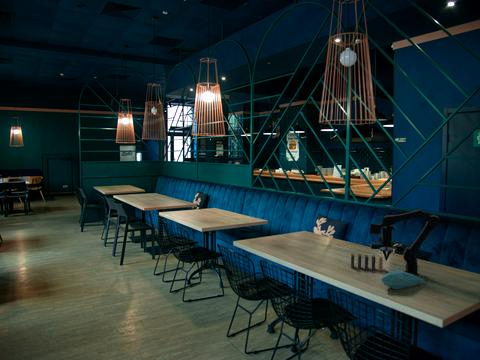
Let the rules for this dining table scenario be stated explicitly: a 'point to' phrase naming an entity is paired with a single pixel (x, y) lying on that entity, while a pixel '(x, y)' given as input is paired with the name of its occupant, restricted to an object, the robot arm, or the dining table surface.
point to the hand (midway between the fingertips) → (386, 260)
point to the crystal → (400, 279)
